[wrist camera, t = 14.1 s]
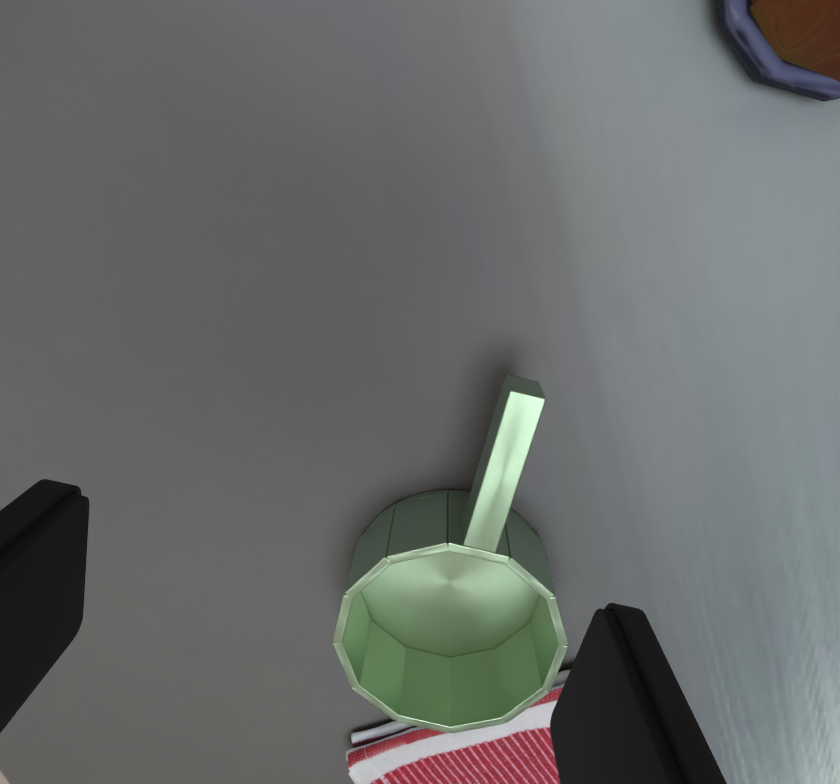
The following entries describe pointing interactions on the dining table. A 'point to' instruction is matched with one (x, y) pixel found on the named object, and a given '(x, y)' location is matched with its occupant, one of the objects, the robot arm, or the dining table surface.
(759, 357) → the dining table surface
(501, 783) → the dish towel
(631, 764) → the robot arm
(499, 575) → the green saucepan
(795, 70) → the mug
